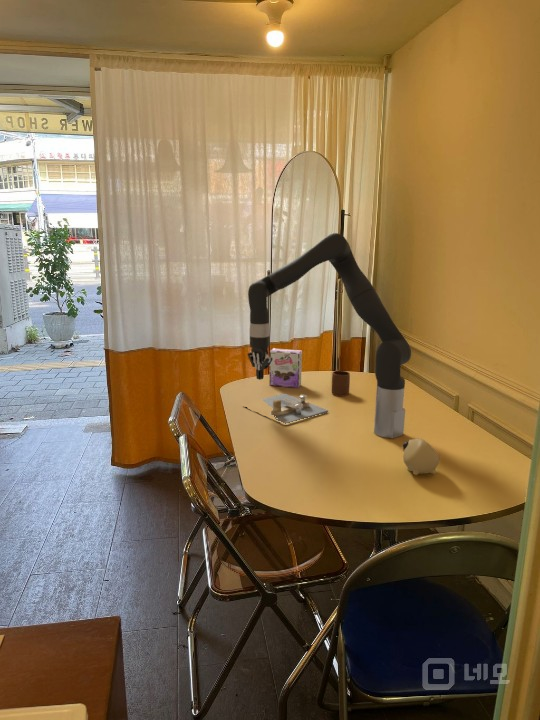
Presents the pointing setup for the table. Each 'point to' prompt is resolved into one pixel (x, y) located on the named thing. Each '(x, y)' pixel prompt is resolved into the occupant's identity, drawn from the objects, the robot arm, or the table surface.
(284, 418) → the base plate
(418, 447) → the cream rounded piece
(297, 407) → the keeper
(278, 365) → the candy box
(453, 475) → the table surface
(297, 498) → the table surface
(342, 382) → the mug
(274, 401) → the link
